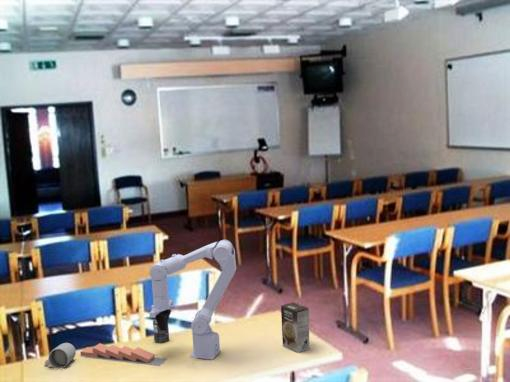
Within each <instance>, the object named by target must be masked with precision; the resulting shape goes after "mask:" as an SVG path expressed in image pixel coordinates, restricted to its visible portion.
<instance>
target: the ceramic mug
mask: <svg viewBox="0 0 510 382" xmlns="http://www.w3.org/2000/svg"><path fill="white" fill-rule="evenodd" d="M76 351H77V350H76V347H75V346H74V345H73V344H72V343H69V342H64V343H63V342H62V343H61V344H59V345H58V346H56V347H55V348H53V349H52V350H51V351H50V352H49V354H48V358H47V360H46V361H44V364H45V366H51V367H53V368H54V369H65V368H66V367H67V366H68V365H69V364H70V363H71V362H72V361H73V359H74V358H75V357H76V354H77V353H76ZM60 366H61V367H60Z"/></svg>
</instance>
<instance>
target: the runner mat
mask: <svg viewBox="0 0 510 382" xmlns="http://www.w3.org/2000/svg"><path fill="white" fill-rule="evenodd" d="M84 358H85V359H86V358H87V359H93V360H94V359H95V360H102V361H103V360H104V361H112V362H120V363H121V362H122V363H128V364H129V363H130V364H137V365H139V364H140V365H146V366H147V365H148V366H154V367H155V366H156V367H160V366H161V365H163V364H164V363H165V362H166V361H168V358H167V357H166V358H165V357H156V356H155V357H154V359H153V360H152V361H150V362H149V363H146V362H144V361H142V360H139V359H138V360H137V361H136V362H134V361H132V360H130V359H127V358H125V359H123V360H120V359H118V358H115V357H113V356H112V357H111V358H110V359H108V358H106V357H104V356H99V357H98V358H96V357H88V356H84Z"/></svg>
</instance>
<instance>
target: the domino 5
mask: <svg viewBox="0 0 510 382" xmlns="http://www.w3.org/2000/svg"><path fill="white" fill-rule="evenodd" d="M131 356H133V357H135V358H137V359H139V360H142V361H144V362H146V363H149V362H150V361H152V360H153V359H154V357H156V354H154V353H153V352H150V351H147V349H146V350H145V349H144V348H140V347H138V346H137V347H136V348H135V349H134V350H133V351H132V352H131Z"/></svg>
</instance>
